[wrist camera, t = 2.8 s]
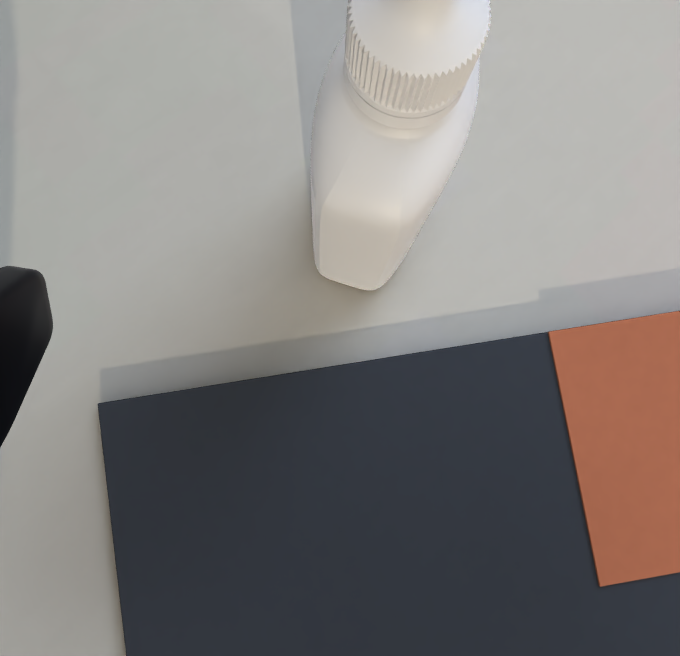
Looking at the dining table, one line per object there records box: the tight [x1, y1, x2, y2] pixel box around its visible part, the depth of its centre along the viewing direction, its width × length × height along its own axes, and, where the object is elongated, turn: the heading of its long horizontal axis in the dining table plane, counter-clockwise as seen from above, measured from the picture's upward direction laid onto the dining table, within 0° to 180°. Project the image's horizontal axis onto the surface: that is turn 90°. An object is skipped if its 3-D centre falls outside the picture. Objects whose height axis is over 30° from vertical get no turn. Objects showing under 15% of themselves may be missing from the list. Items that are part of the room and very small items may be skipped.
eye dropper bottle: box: [311, 0, 492, 290], centre depth 15 cm, size 4×6×12 cm
